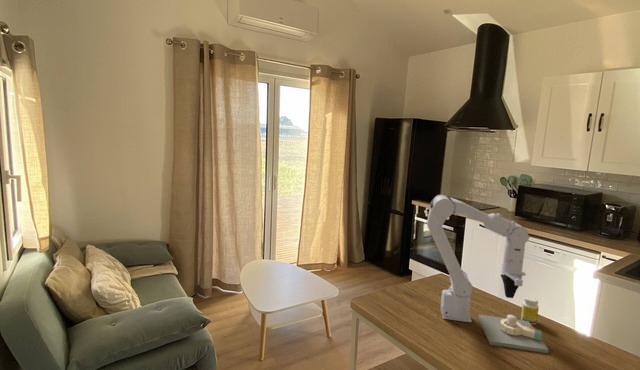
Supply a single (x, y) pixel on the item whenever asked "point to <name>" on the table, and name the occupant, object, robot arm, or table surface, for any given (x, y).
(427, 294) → the table surface
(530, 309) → the supplement bottle
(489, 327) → the post board
